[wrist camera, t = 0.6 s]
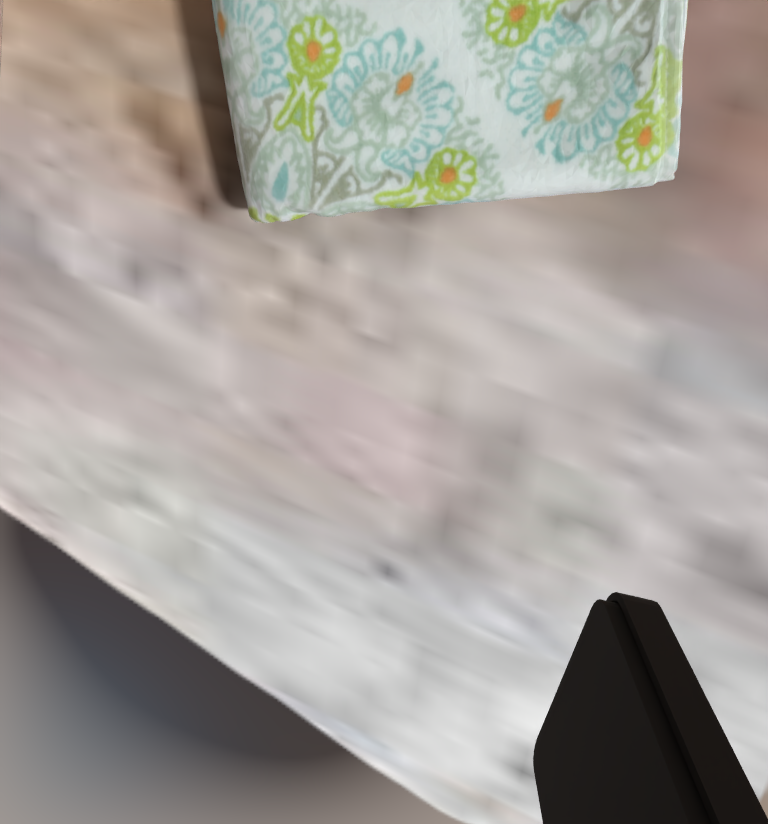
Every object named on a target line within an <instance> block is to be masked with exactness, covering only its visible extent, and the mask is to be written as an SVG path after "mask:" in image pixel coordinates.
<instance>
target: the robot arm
mask: <svg viewBox="0 0 768 824" xmlns="http://www.w3.org/2000/svg"><path fill="white" fill-rule="evenodd" d="M533 765H534V773H535V779H536V785H537V791H538V796H539V802H540V808H541V814H542V820H543V824H768V819H767V817H766V815H765V812H764V811H763V809H762V807H761V805H760V803H759V801H758V799H757V797H756V795H755V793H754V791H753V789H752V787H751V785H750V783H749V781H748V779H747V777H746V775H745V773H744V771H743V769H742V767H741V765H740V763H739V761H738V759H737V757H736V755H735V753H734V751H733V749H732V747H731V745H730V743H729V741H728V739H727V737H726V735H725V733H724V731H723V729H722V727H721V725H720V723H719V721H718V719H717V717H716V715H715V713H714V712H713V710H712V708H711V706H710V704H709V702H708V700H707V698H706V696H705V694H704V692H703V690H702V688H701V686H700V684H699V682H698V680H697V678H696V676H695V674H694V672H693V670H692V668H691V666H690V664H689V662H688V660H687V658H686V656H685V654H684V652H683V650H682V648H681V646H680V644H679V642H678V640H677V638H676V636H675V634H674V632H673V630H672V628H671V626H670V624H669V622H668V620H667V618H666V616H665V614H664V613H663V611H662V609H661V607H660V605H659V604H658V603H657V602H655V601H652V600H648V599H644V598H639V597H635V596H631V595H626V594H622V593H617V592H615V593H612V594H611V595H610V596H609V597H608V598H607V600H606V601H605V600H601V599H599V600H597V601H596V602H595V603H594V604H593V606H592V608H591V610H590V613H589V615H588V618H587V620H586V622H585V625H584V627H583V630H582V632H581V634H580V637H579V639H578V642H577V644H576V646H575V649H574V651H573V654H572V656H571V658H570V661H569V663H568V666H567V668H566V670H565V673H564V675H563V678H562V680H561V682H560V685H559V687H558V690H557V692H556V694H555V697H554V699H553V702H552V704H551V706H550V709H549V711H548V714H547V716H546V718H545V721H544V723H543V726H542V728H541V730H540V733H539V735H538V738H537V740H536V744H535V749H534V757H533Z"/></svg>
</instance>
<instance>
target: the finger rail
mask: <svg viewBox="0 0 768 824" xmlns="http://www.w3.org/2000/svg"><path fill="white" fill-rule="evenodd" d="M2 13H3V0H0V65H1V39H2Z"/></svg>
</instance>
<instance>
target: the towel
mask: <svg viewBox="0 0 768 824" xmlns="http://www.w3.org/2000/svg"><path fill="white" fill-rule="evenodd" d="M687 7H688V0H212V8H213V14H214V20H215V26H216V33H217V38H218V45H219V52H220V58H221V63H222V68H223V73H224V80H225V86H226V92H227V99H228V105H229V110H230V115H231V122H232V128H233V133H234V140H235V146H236V154H237V159H238V163H239V168H240V172H241V178H242V185H243V189H244V193H245V197H246V201H247V205H248V212H249V216H250V217H251V219H252V220H253V221H255V222H262V223H271V222H275V221H280V222H283V221H292V220H295V219H298V218H301V217H303V216H306V215H308V214H310V213H313V214H316V215H318V216H322V217H333V216H339V215H344V214H347V213H353V212H365V211H373V210H377V209H380V208H413V207H422V206H429V205H450V204H457V203H470V202H489V201H500V200H507V199H519V198H531V197H544V196H553V195H563V194H574V193H592V192H602V191H611V190H618V189H626V188H636V187H646V186H653V185H654V184H655V183H657V182H659V181H668V180H673V179H674V178H675V177H674V172H675V171H676V169H677V163H678V154H679V136H680V113H681V105H682V56H683V46H684V41H685V30H686V23H687Z"/></svg>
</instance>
